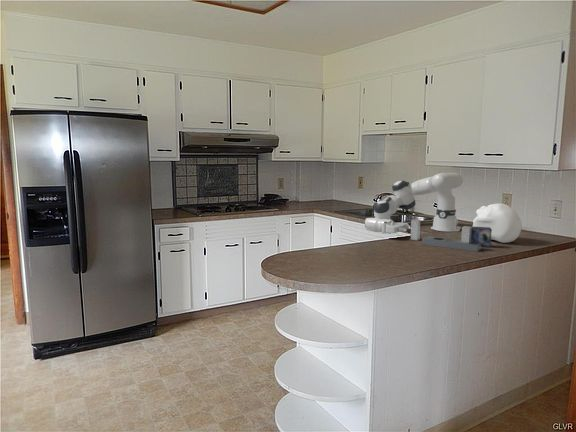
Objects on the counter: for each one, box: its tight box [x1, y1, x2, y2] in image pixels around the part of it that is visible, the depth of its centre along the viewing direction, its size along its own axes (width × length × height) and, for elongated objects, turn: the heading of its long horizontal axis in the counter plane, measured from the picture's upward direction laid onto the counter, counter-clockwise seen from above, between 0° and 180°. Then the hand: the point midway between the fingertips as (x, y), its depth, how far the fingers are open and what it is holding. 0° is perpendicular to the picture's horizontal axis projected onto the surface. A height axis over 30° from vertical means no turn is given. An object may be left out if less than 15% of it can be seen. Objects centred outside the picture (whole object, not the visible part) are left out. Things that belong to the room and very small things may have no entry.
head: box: [472, 202, 522, 244], centre depth 247 cm, size 20×28×28 cm
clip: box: [410, 219, 421, 241], centre depth 249 cm, size 4×4×12 cm
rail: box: [421, 225, 482, 252], centre depth 230 cm, size 7×30×12 cm, turn 51°
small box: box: [469, 225, 492, 248], centre depth 232 cm, size 11×6×10 cm, turn 73°
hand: (409, 228), depth 251 cm, fingers open, 8 cm apart
